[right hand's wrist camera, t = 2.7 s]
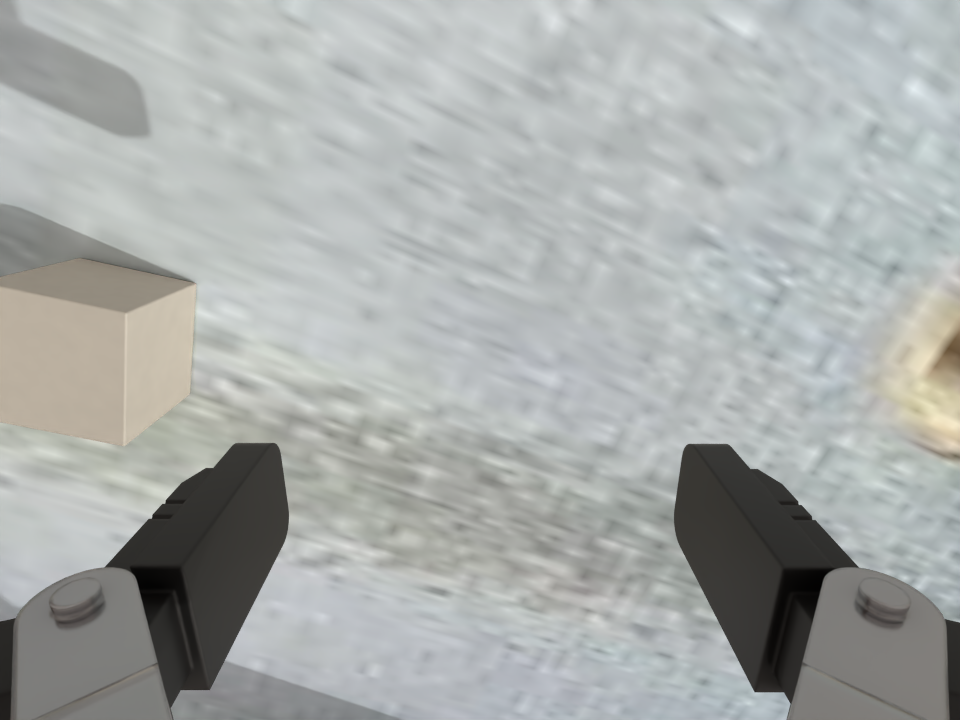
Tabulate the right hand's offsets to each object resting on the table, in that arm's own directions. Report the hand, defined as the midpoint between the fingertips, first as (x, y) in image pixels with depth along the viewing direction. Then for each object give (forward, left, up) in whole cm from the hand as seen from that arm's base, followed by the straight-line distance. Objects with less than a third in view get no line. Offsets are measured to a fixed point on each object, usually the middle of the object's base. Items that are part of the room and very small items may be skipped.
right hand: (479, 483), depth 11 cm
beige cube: (-10, +10, -13) cm, 19 cm away
